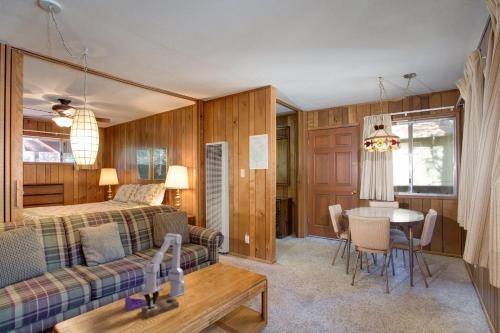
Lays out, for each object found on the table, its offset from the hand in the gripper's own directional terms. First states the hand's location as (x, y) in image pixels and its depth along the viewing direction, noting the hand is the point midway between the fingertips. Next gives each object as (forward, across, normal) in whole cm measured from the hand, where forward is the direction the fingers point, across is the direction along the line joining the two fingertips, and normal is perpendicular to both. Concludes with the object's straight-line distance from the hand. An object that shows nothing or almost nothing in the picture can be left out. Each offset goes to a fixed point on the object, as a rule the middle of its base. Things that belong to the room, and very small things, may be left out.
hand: (151, 304), depth 161 cm
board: (+5, -6, 0) cm, 8 cm away
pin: (+4, 0, 0) cm, 4 cm away
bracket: (+6, +4, -14) cm, 15 cm away
